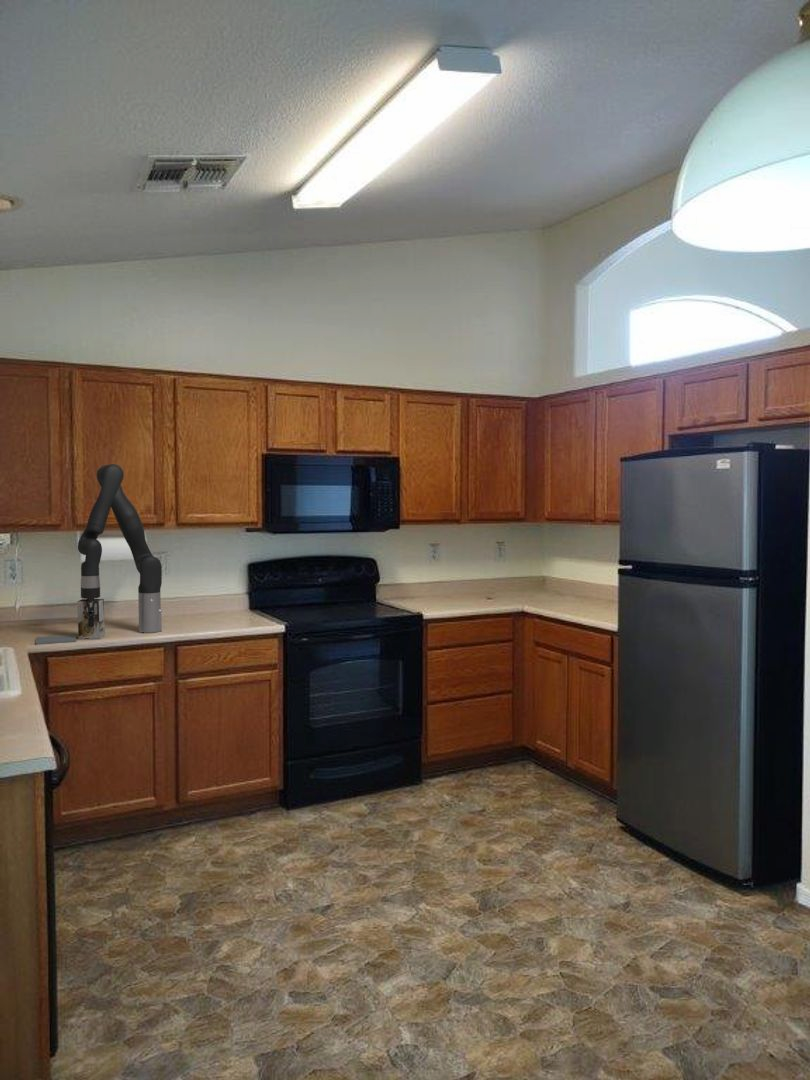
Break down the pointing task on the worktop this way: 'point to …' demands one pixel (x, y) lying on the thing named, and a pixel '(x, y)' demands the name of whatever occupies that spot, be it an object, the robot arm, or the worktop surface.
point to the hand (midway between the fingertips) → (91, 625)
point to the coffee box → (98, 628)
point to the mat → (55, 639)
